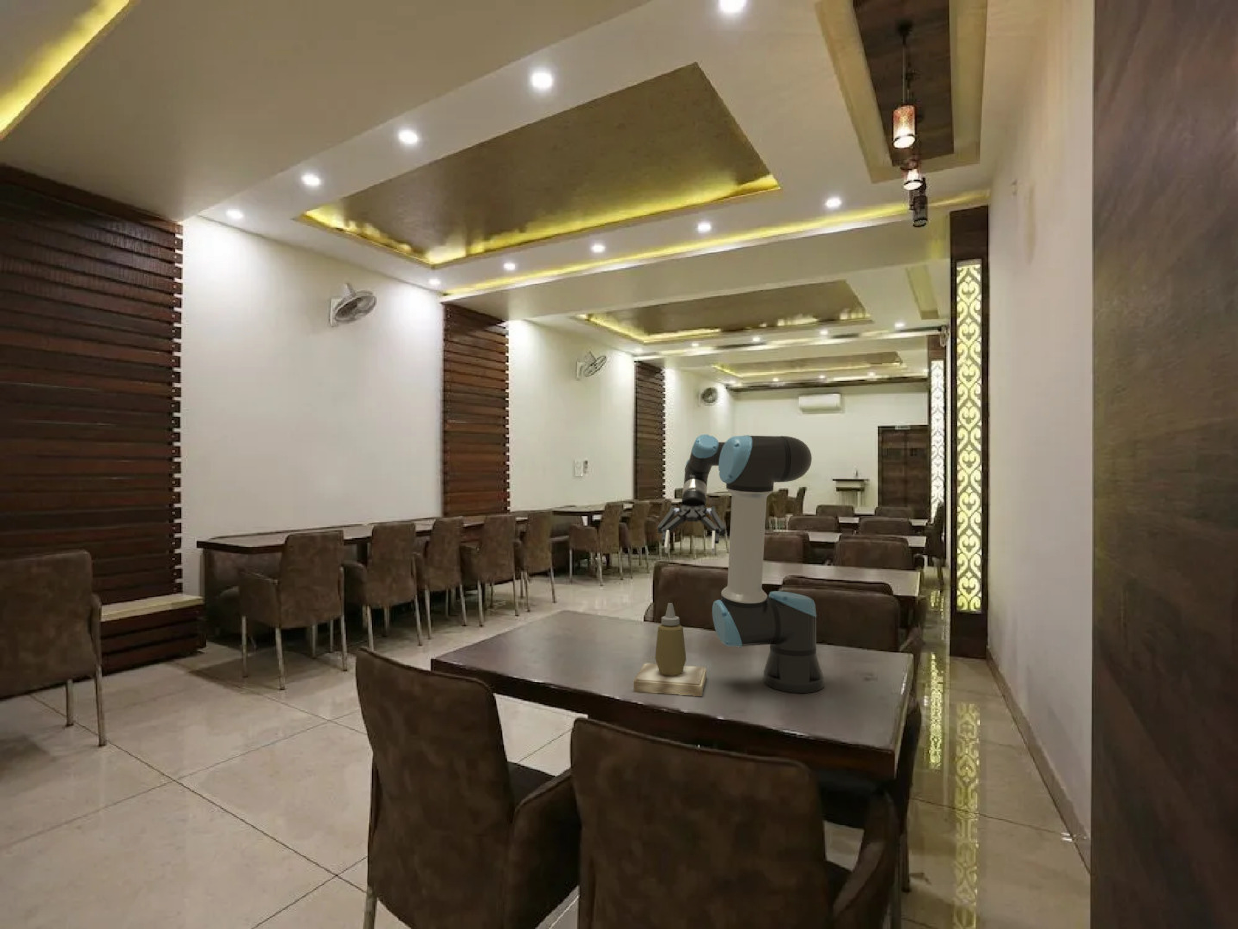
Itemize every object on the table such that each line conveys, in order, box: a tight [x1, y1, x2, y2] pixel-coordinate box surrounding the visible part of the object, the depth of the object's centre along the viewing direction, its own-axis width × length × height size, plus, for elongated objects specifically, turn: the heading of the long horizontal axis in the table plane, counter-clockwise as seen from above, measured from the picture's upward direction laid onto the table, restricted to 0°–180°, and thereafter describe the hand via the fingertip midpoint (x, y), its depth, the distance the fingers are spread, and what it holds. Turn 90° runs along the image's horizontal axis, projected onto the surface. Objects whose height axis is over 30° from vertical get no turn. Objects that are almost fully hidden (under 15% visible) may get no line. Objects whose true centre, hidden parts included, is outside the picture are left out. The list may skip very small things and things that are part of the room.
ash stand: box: [633, 662, 707, 697], centre depth 153 cm, size 17×14×3 cm
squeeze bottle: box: [654, 602, 687, 676], centre depth 153 cm, size 8×8×18 cm
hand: (689, 550), depth 170 cm, fingers open, 13 cm apart
